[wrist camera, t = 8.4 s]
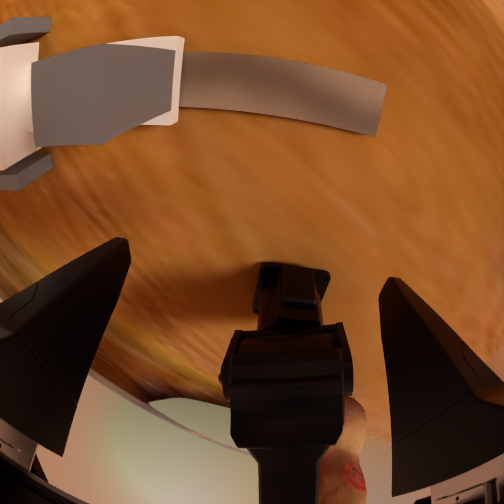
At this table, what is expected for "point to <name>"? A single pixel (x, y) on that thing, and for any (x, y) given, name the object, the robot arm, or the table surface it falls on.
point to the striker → (85, 93)
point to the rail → (281, 90)
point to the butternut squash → (345, 461)
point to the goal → (32, 164)
